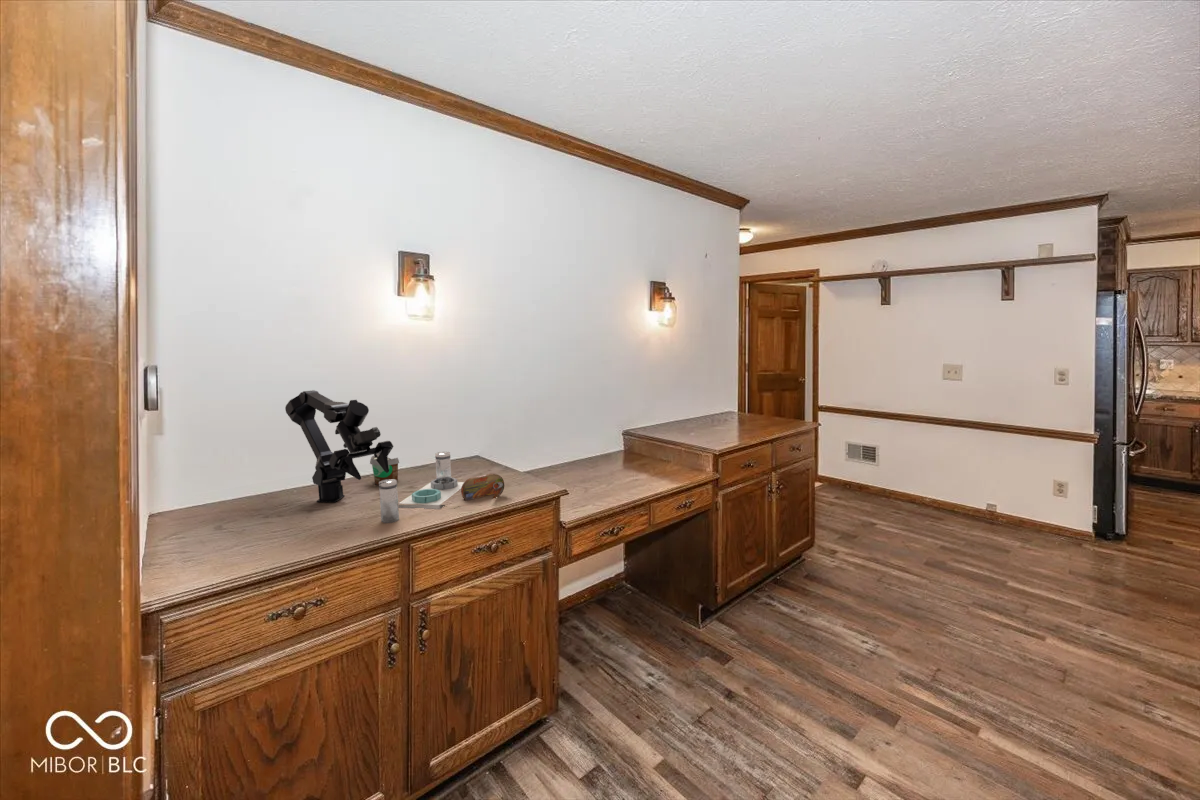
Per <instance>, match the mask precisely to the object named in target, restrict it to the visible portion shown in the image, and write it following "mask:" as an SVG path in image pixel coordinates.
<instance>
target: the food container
mask: <svg viewBox="0 0 1200 800" xmlns="http://www.w3.org/2000/svg"><path fill="white" fill-rule="evenodd" d="M376 460H377V458H376V457H375V456H374V455H371V457H370V460H369V464H370V465H371V468H372V474H373V479H374V484H375V485H376V484H377V485H376V486H379V482H380V481H382V480H387V479H395V480H397V481H398V480H399V477H398V476H399V464H400V460H399V457H394V458H390V457H388V467H389V472H388V473H386V472H385V471H384V470H383V468H382V467H381V466H380V464H379V463H378V462H377V461H376Z"/></svg>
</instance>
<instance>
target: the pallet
mask: <svg viewBox="0 0 1200 800" xmlns="http://www.w3.org/2000/svg"><path fill="white" fill-rule="evenodd" d="M464 482H465V481H458V478H455V477H452V476H451V482H450V483H444V484H442V483H437V478H435V479H432V480H430V482H429V483H427V484H426V485H424V486H423V487H421V488H419V489H418V490H415V491H414V492H412V493H411V495H409V496H407V497H406V498H404V499H403V500H401V501H400V502H398V509H415V508H424V509H423V510H441V509H442V508H444V507H446V504H443V503H445V502H446V501H447V500H448V499H450V498H451V497H452V496H454V495H455V494H456V493H457V492H459V491H461V488H462V485H463V483H464ZM443 506H444V507H443Z"/></svg>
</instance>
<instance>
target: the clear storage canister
mask: <svg viewBox="0 0 1200 800" xmlns="http://www.w3.org/2000/svg"><path fill="white" fill-rule="evenodd" d="M378 490H379V491H378V492H379V507H380V508H379V509H380V521H381V523H382V522H383V523H382V524H392V523H396V522H398V521H399V520H400V514H399V511H400V510H399V506H398V505H399V504H398V503H399V496H398V494H399V493H398V480H395V479H387V480H382V481H380V482H379V485H378Z"/></svg>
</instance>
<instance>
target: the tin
mask: <svg viewBox="0 0 1200 800" xmlns="http://www.w3.org/2000/svg"><path fill="white" fill-rule="evenodd" d="M463 482H464V483H463V485H462V488H461V489H460V491H461V497H462V499H464V500H465V501H467V502H468V501H470V500H475V499H478V498H483V497H486V496H491V495H493V497H492V498H495V499H497V498H499V497H500V496H501V495H502V494H503V492H504V489H505V481H504V478H503V477H502V476H501V475H499V474H497V473H489V474H488V473H487V474H484V475H478V476H473V477H470V478H467V479H466V480H465V481H463ZM496 497H497V498H496Z"/></svg>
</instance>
